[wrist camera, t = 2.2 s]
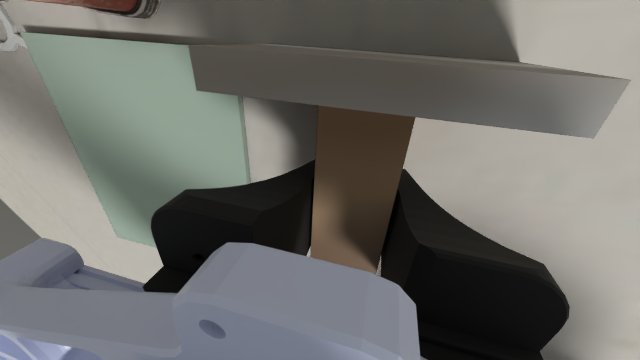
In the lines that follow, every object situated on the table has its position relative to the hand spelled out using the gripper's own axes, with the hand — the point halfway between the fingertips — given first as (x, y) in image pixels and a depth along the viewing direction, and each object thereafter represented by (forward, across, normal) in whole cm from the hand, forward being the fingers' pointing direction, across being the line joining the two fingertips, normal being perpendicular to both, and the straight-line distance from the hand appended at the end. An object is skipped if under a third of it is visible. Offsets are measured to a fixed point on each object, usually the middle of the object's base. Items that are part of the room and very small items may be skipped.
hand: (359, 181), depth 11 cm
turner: (+1, 0, +1) cm, 2 cm away
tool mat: (+1, +13, +2) cm, 13 cm away
